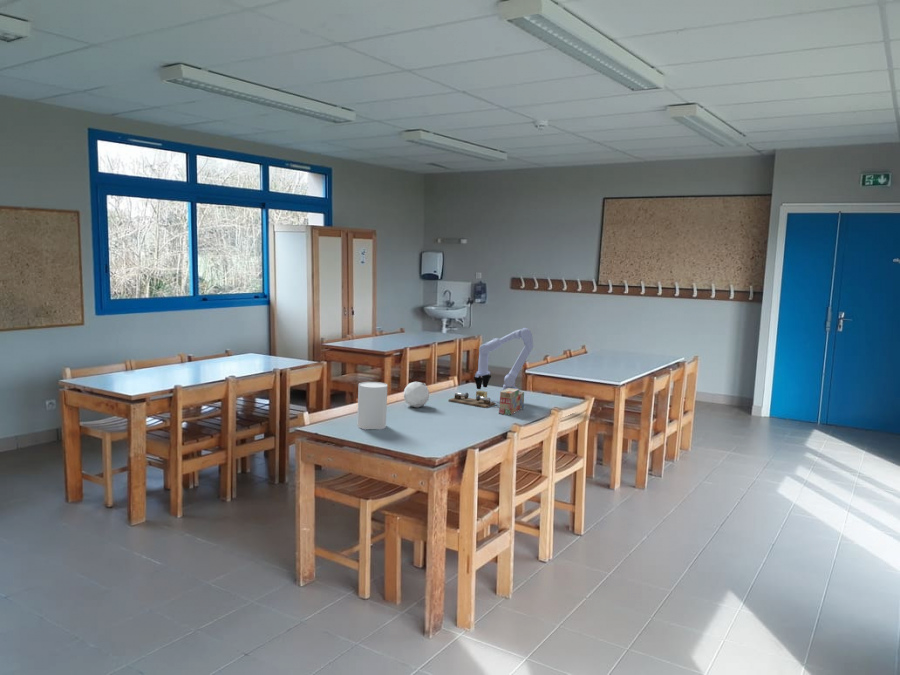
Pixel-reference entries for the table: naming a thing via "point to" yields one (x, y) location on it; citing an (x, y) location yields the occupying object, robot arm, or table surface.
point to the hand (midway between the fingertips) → (481, 388)
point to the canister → (372, 405)
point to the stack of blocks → (511, 401)
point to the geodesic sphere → (416, 394)
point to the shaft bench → (472, 402)
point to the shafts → (476, 397)
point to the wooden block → (481, 393)
